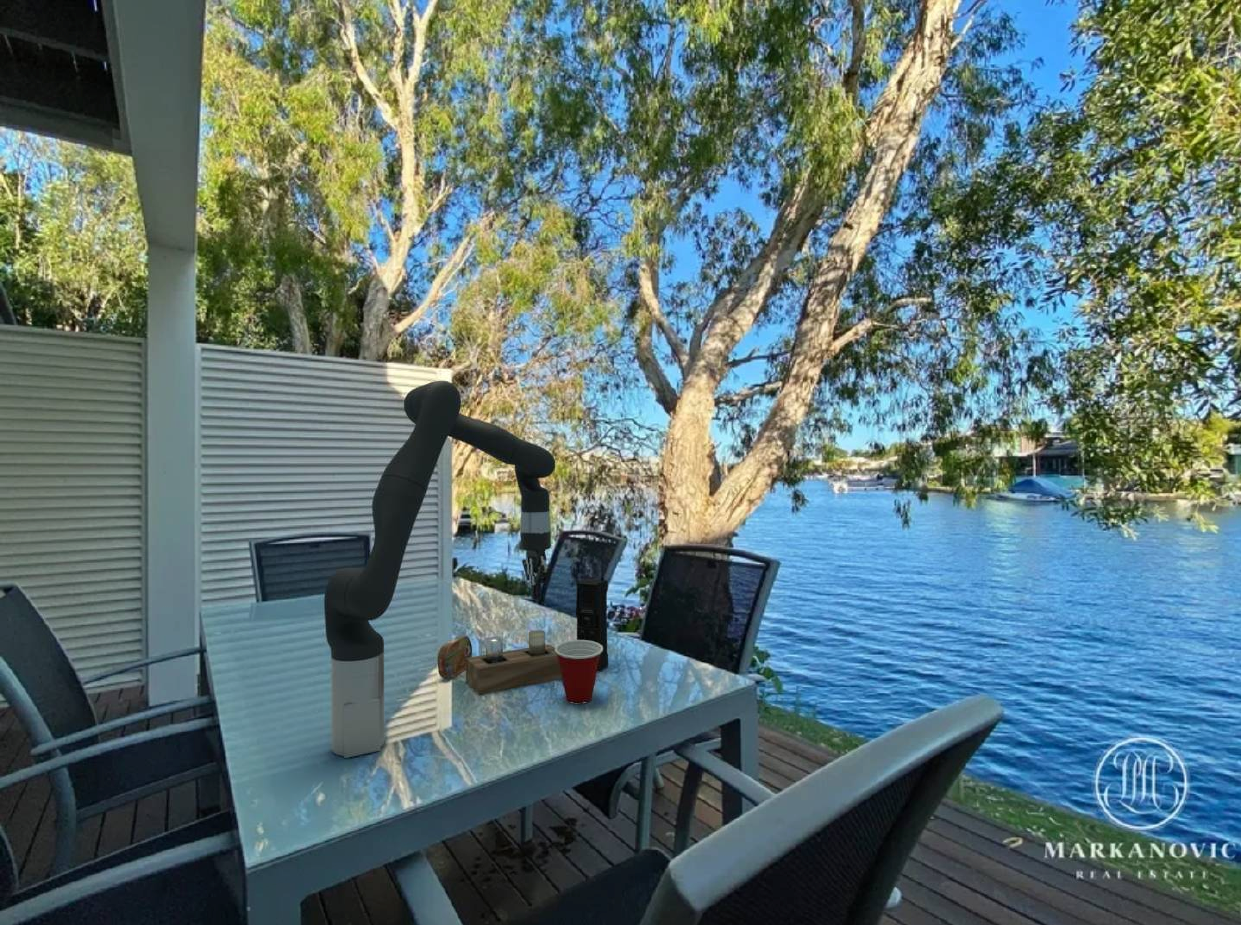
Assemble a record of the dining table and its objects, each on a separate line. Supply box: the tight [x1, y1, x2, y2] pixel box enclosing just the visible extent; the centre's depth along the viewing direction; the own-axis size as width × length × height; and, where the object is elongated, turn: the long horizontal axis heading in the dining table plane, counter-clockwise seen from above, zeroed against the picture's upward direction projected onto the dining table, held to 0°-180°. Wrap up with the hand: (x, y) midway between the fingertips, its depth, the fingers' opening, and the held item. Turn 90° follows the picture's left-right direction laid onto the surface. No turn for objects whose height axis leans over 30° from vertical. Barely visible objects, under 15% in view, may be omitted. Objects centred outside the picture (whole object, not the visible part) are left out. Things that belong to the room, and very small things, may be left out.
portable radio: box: [575, 570, 609, 672], centre depth 167 cm, size 8×6×25 cm
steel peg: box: [485, 636, 504, 664], centre depth 155 cm, size 4×4×6 cm
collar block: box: [465, 644, 562, 696], centre depth 157 cm, size 10×22×6 cm, turn 121°
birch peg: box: [528, 629, 546, 656], centre depth 160 cm, size 4×4×6 cm
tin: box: [436, 635, 473, 680], centre depth 164 cm, size 15×3×8 cm, turn 168°
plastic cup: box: [554, 639, 603, 703], centre depth 144 cm, size 11×11×12 cm
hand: (536, 599), depth 160 cm, fingers closed
